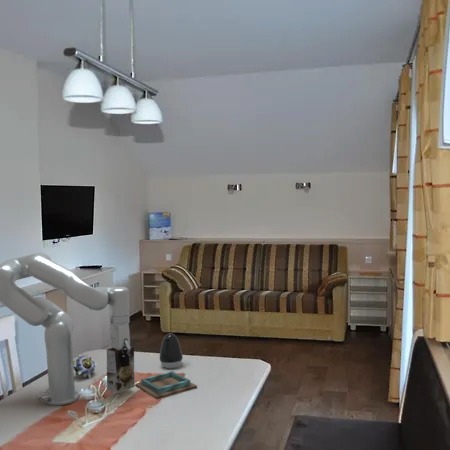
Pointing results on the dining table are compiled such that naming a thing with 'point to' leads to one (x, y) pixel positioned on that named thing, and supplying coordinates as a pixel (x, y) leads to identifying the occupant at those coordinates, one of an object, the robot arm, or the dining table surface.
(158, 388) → the board
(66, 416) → the dining table surface
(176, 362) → the dark grey speaker
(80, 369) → the passion flower
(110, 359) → the coffee box
